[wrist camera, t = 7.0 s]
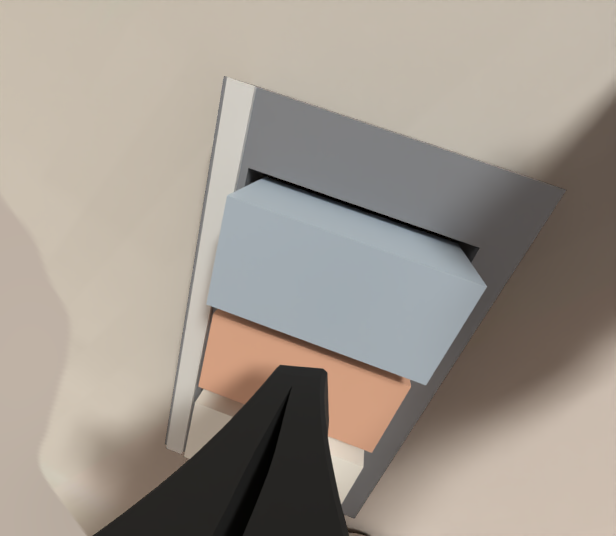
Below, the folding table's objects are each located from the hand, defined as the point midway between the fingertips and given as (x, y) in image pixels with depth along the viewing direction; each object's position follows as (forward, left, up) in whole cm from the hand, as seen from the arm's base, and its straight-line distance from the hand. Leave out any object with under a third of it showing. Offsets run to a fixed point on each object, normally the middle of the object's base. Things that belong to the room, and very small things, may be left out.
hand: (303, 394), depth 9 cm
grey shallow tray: (0, +3, -8) cm, 9 cm away
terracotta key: (0, +3, -7) cm, 8 cm away
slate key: (0, -2, -6) cm, 6 cm away
